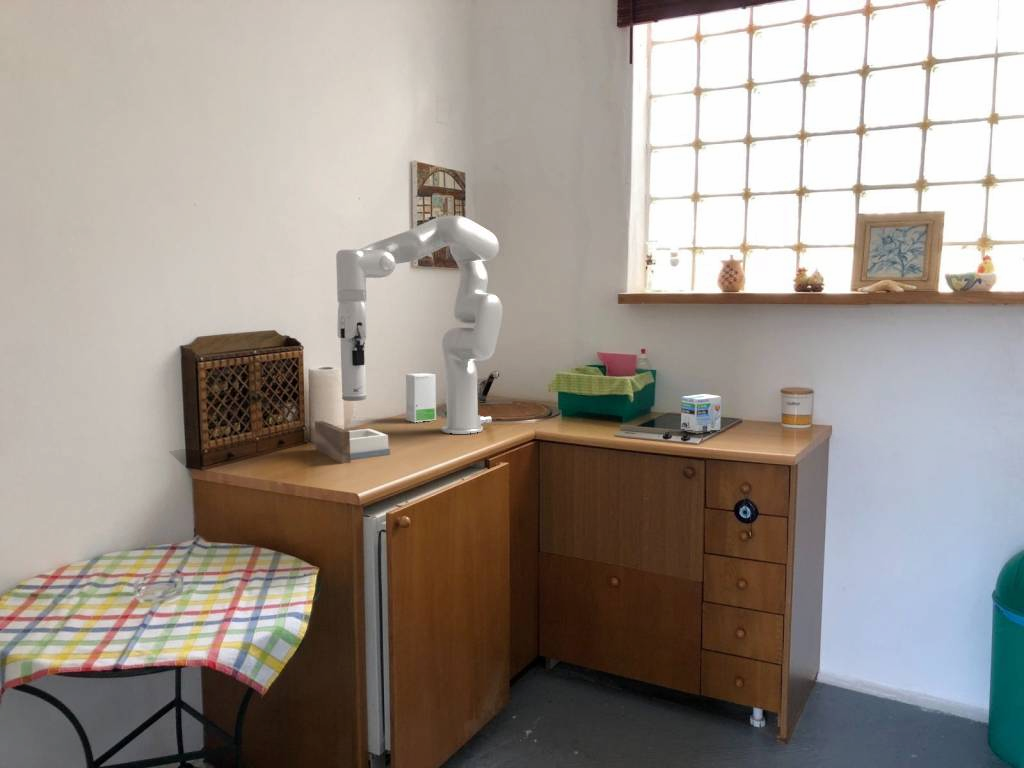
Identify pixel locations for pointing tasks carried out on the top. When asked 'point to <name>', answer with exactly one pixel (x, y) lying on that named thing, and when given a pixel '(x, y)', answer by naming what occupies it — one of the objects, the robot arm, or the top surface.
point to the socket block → (368, 444)
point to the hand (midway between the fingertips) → (353, 363)
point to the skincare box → (420, 397)
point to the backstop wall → (332, 441)
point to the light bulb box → (701, 412)
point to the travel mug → (351, 372)
